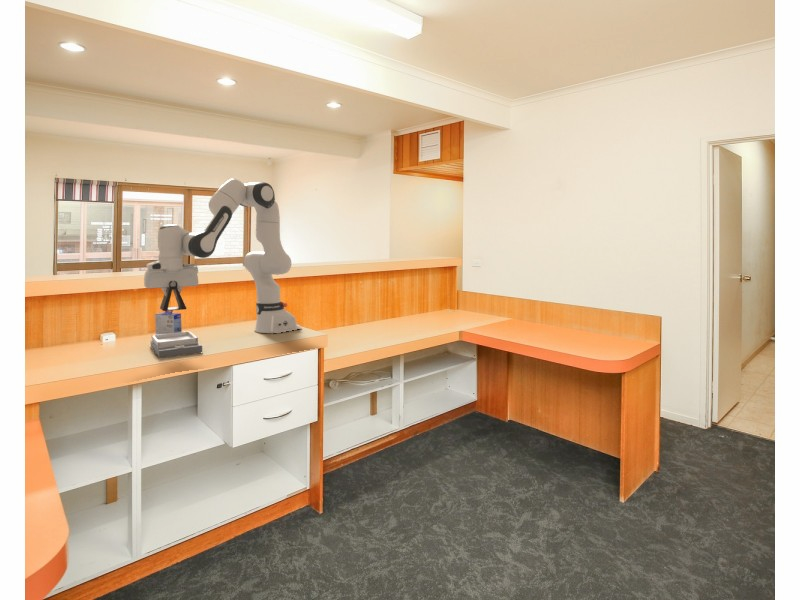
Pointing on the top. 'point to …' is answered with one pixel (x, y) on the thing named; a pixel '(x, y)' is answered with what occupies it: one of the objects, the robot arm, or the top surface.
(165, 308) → the black mini tripod
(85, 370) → the top surface
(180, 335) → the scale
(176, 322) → the ink cartridge box
